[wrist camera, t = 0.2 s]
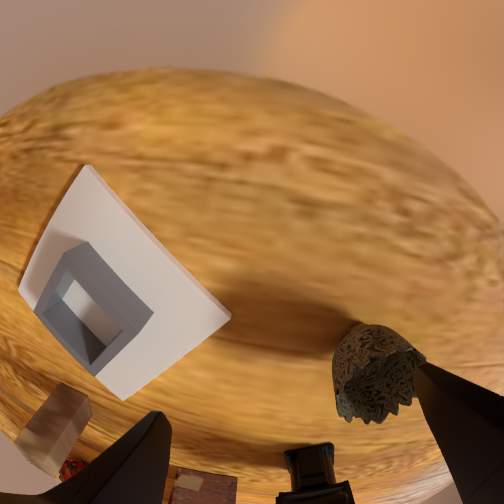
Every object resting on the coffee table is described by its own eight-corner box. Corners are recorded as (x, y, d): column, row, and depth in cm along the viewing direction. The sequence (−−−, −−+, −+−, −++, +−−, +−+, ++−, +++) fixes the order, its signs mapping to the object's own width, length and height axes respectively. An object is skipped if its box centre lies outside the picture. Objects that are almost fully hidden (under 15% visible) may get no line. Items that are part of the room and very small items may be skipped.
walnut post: (87, 395, 27) (43, 462, 15) (92, 415, 29) (54, 478, 16) (61, 382, 27) (13, 442, 15) (67, 402, 28) (26, 460, 16)
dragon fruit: (86, 469, 38) (81, 442, 37) (105, 495, 33) (102, 473, 32) (56, 476, 31) (47, 450, 29) (75, 505, 26) (66, 483, 25)
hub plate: (231, 313, 23) (225, 342, 19) (126, 395, 27) (112, 421, 22) (91, 164, 20) (60, 164, 16) (23, 287, 24) (-1, 301, 19)
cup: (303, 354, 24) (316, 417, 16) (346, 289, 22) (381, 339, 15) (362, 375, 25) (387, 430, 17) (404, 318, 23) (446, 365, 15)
